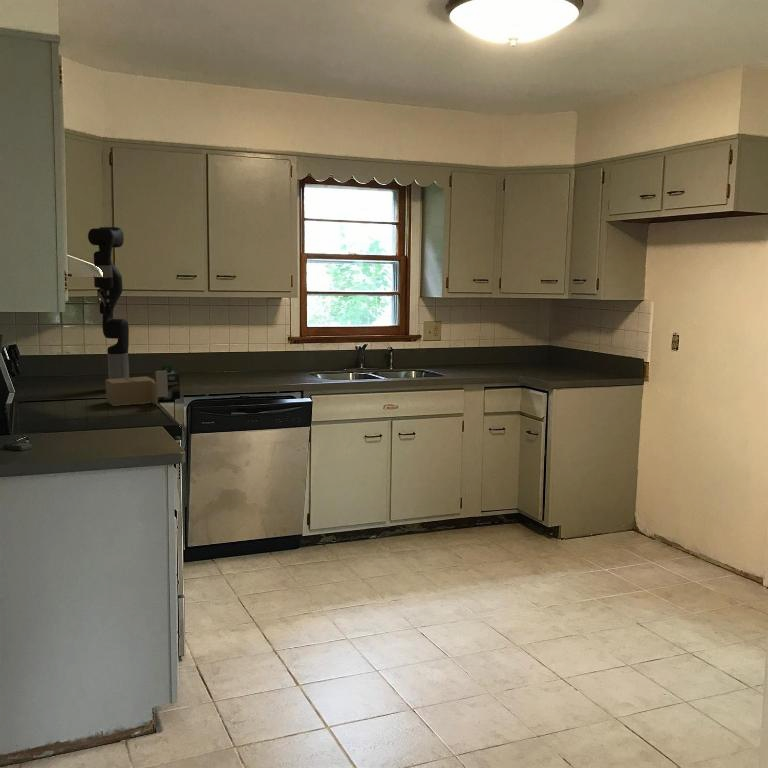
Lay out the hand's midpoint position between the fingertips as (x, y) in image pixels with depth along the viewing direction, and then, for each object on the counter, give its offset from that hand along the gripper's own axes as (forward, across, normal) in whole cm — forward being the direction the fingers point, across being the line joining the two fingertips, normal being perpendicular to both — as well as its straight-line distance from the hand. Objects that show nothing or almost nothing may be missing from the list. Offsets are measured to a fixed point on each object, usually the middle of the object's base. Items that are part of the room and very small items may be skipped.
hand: (105, 314), depth 353 cm
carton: (+38, +6, +8) cm, 39 cm away
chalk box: (+38, +2, +25) cm, 46 cm away
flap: (+38, +17, +17) cm, 45 cm away
